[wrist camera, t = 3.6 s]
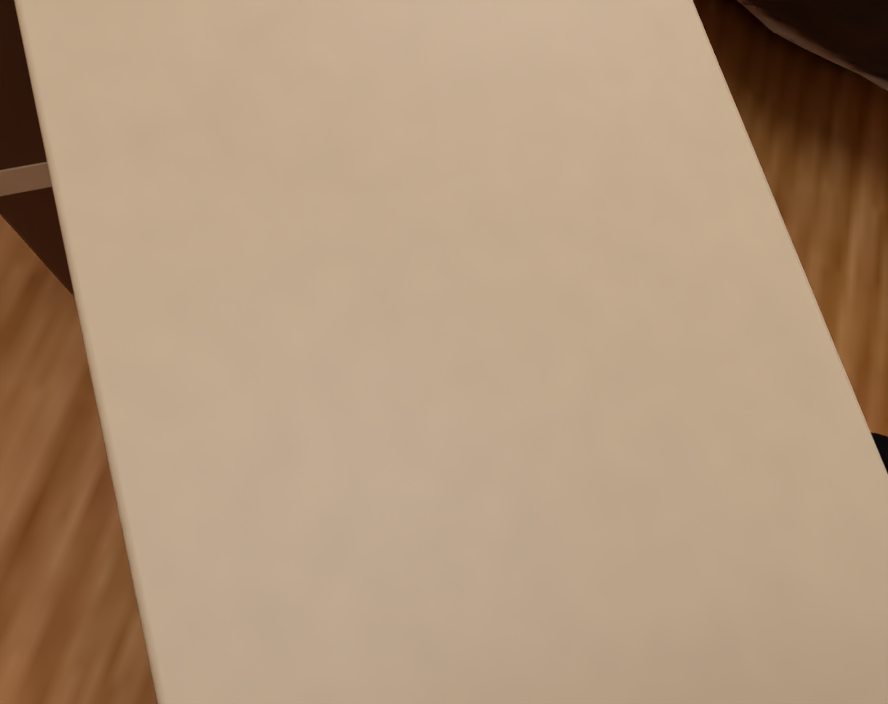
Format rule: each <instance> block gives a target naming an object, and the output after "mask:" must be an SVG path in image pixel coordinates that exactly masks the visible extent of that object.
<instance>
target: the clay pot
mask: <svg viewBox="0 0 888 704" xmlns="http://www.w3.org/2000/svg"><path fill="white" fill-rule="evenodd" d="M736 1H738V2H739V3H741V4H742V5H743V6H744V7H745V8H746V9H747V10H749V11H750V12H751V13H752V14H753V15H754V16H755V17H756V18H757V19H759V20H760V21H761V22H762V23H763V24H764V25H765V26H766V27H767V28H769V29H770V30H771V31H772V32H774V33H776V34H778V35H779V36H781V37H783V38H785V39H787V40H789V41H790V42H792V43H794V44H796V45H798V46H800V47H802V48H804V49H806V50H808V51H810V52H812V53H814V54H816V55H819V56H821V57H823V58H825V59H827V60H829V61H831V62H833V63H835V64H838V65H840V66H842V67H844V68H846V69H848V70H850V71H852V72H855V73H857V74H859V75H860V76H862V77H864V78H866V79H867V80H869V81H871V82H872V83H874V84H876V85H878V86H879V87H881V88H883V89H884V90H886V91H888V0H736Z"/></svg>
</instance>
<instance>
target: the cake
mask: <svg viewBox="0 0 888 704" xmlns="http://www.w3.org/2000/svg"><path fill="white" fill-rule="evenodd" d="M0 214H1V215H2V216H3V218H4V219H5V220H6V221H7V222H8V223H9V224H10V225H11V227H12V228H13V229H14V230H15V231H16V232H17V233H18V234H19V236H20V237H21V238H22V239H23V240H24V241H25V242H26V243H27V244H28V246H29V247H30V248H31V249H32V250H33V251H34V252H35V253H36V255H37V256H38V257H39V258H40V259H41V260H42V261H43V262H44V263H45V265H46V266H47V267H48V268H49V269H50V270H51V271H52V272H53V274H54V275H55V276H56V277H57V278H58V279H59V280H60V281H61V283H62V284H63V285H64V286H65V287H66V288H67V289H68V290H69V291H70V293H71V294H72V295H73V296H74V291H73V287H72V282H71V277H70V272H69V267H68V262H67V257H66V252H65V247H64V242H63V238H62V233H61V228H60V223H59V218H58V213H57V208H56V203H55V198H54V193H53V188H52V184H51V179H50V174H49V169H48V164H47V159H46V154H45V149H44V144H43V139H42V135H41V130H40V125H39V120H38V115H37V110H36V105H35V100H34V95H33V90H32V85H31V81H30V76H29V71H28V66H27V61H26V56H25V51H24V46H23V41H22V36H21V32H20V27H19V22H18V17H17V12H16V7H15V2H14V0H0ZM74 297H75V296H74Z"/></svg>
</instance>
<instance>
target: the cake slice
mask: <svg viewBox="0 0 888 704" xmlns="http://www.w3.org/2000/svg"><path fill="white" fill-rule="evenodd" d="M14 2H15V7H16V12H17V17H18V22H19V27H20V32H21V36H22V41H23V46H24V51H25V56H26V61H27V66H28V71H29V76H30V81H31V85H32V90H33V95H34V100H35V105H36V110H37V115H38V120H39V125H40V130H41V135H42V139H43V144H44V149H45V154H46V159H47V164H48V169H49V174H50V179H51V184H52V188H53V193H54V198H55V203H56V208H57V213H58V218H59V223H60V228H61V233H62V238H63V242H64V247H65V252H66V257H67V262H68V267H69V272H70V277H71V282H72V287H73V291H74V296H75V301H76V306H77V311H78V316H79V321H80V326H81V331H82V336H83V341H84V345H85V350H86V355H87V360H88V365H89V370H90V375H91V380H92V385H93V390H94V394H95V399H96V404H97V409H98V414H99V419H100V424H101V429H102V434H103V439H104V444H105V448H106V453H107V458H108V463H109V468H110V473H111V478H112V483H113V488H114V493H115V498H116V502H117V507H118V512H119V517H120V522H121V527H122V532H123V537H124V542H125V547H126V551H127V556H128V561H129V566H130V571H131V576H132V581H133V586H134V591H135V596H136V601H137V605H138V610H139V615H140V620H141V625H142V630H143V635H144V640H145V645H146V650H147V654H148V659H149V664H150V669H151V674H152V679H153V684H154V689H155V694H156V699H157V704H888V474H887V471H886V469H885V466H884V464H883V462H882V459H881V457H880V454H879V452H878V449H877V447H876V445H875V442H874V440H873V437H872V435H871V432H870V430H869V428H868V425H867V423H866V420H865V418H864V415H863V413H862V411H861V408H860V406H859V403H858V401H857V398H856V396H855V394H854V391H853V389H852V386H851V384H850V381H849V379H848V377H847V374H846V372H845V369H844V367H843V364H842V362H841V360H840V357H839V355H838V352H837V350H836V347H835V345H834V343H833V340H832V338H831V335H830V333H829V330H828V328H827V326H826V323H825V321H824V318H823V316H822V313H821V311H820V309H819V306H818V304H817V301H816V299H815V296H814V294H813V292H812V289H811V287H810V284H809V282H808V279H807V277H806V275H805V272H804V270H803V267H802V265H801V262H800V260H799V258H798V255H797V253H796V250H795V248H794V245H793V243H792V241H791V238H790V236H789V233H788V231H787V228H786V226H785V224H784V221H783V219H782V216H781V214H780V211H779V209H778V207H777V204H776V202H775V199H774V197H773V194H772V192H771V190H770V187H769V185H768V182H767V180H766V177H765V175H764V173H763V170H762V168H761V165H760V163H759V160H758V158H757V156H756V153H755V151H754V148H753V146H752V143H751V141H750V139H749V136H748V134H747V131H746V129H745V126H744V124H743V122H742V119H741V117H740V114H739V112H738V109H737V107H736V105H735V102H734V100H733V97H732V95H731V92H730V90H729V88H728V85H727V83H726V80H725V78H724V75H723V73H722V71H721V68H720V66H719V63H718V61H717V58H716V56H715V54H714V51H713V49H712V46H711V44H710V41H709V39H708V37H707V34H706V32H705V29H704V27H703V24H702V22H701V20H700V17H699V15H698V12H697V10H696V7H695V5H694V3H693V0H14Z"/></svg>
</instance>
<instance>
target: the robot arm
mask: <svg viewBox="0 0 888 704" xmlns="http://www.w3.org/2000/svg"><path fill="white" fill-rule="evenodd" d="M871 435H872V437H873V440H874V442H875V445H876V447H877V449H878V452H879V454H880V457H881V459H882V462H883V464H884V466H885V469H886V471H887V474H888V437H887V436H884V435H881V434H877V433H871Z"/></svg>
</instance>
